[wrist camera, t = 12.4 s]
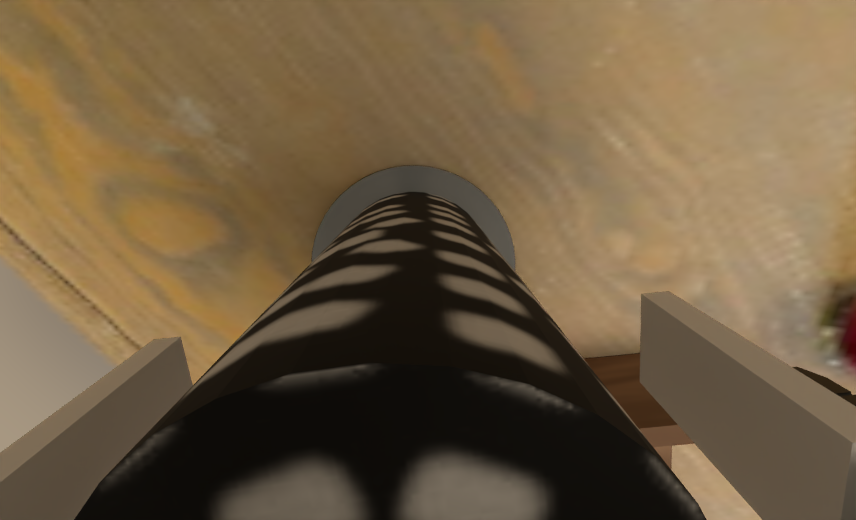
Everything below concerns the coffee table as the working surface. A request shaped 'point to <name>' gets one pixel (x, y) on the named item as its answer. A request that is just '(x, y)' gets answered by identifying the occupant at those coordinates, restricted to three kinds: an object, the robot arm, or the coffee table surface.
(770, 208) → the coffee table surface
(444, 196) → the coaster
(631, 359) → the rack
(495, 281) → the spotted tube
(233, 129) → the coffee table surface
